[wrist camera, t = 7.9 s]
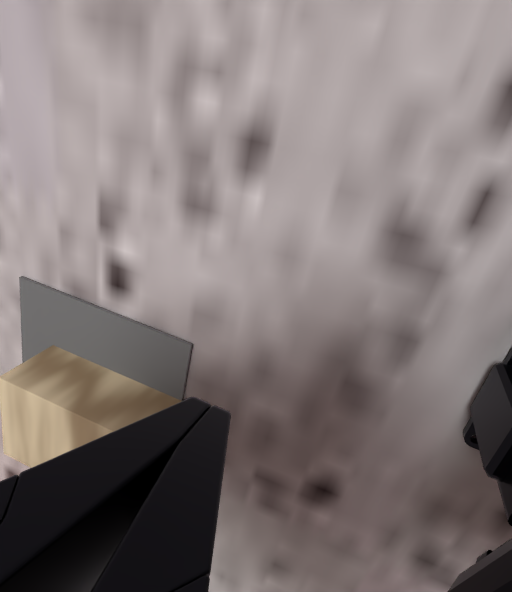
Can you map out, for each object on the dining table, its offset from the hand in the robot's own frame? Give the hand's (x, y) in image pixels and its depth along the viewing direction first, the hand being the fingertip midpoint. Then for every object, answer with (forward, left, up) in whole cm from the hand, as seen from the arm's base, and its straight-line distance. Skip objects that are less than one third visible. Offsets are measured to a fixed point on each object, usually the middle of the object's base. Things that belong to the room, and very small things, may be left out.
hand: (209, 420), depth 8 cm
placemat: (+11, +14, -12) cm, 22 cm away
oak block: (+5, +14, -10) cm, 18 cm away
